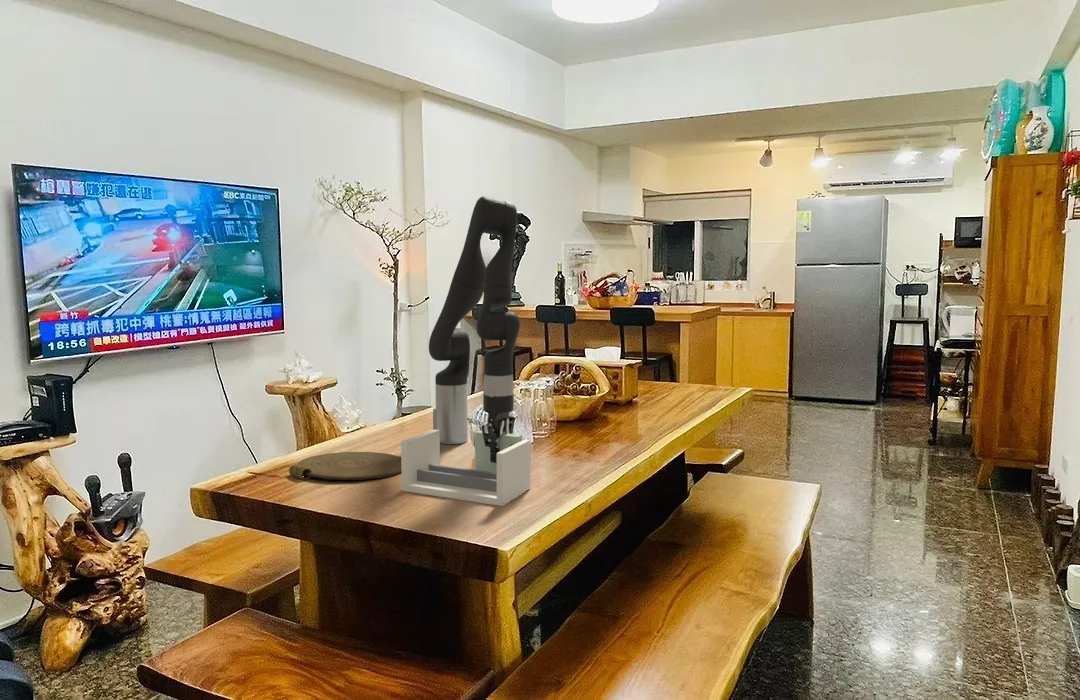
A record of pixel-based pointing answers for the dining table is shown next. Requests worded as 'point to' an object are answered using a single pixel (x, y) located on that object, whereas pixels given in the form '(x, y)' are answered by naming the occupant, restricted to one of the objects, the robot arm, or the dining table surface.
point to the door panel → (484, 452)
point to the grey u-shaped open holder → (464, 472)
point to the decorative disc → (348, 466)
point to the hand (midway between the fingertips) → (498, 460)
